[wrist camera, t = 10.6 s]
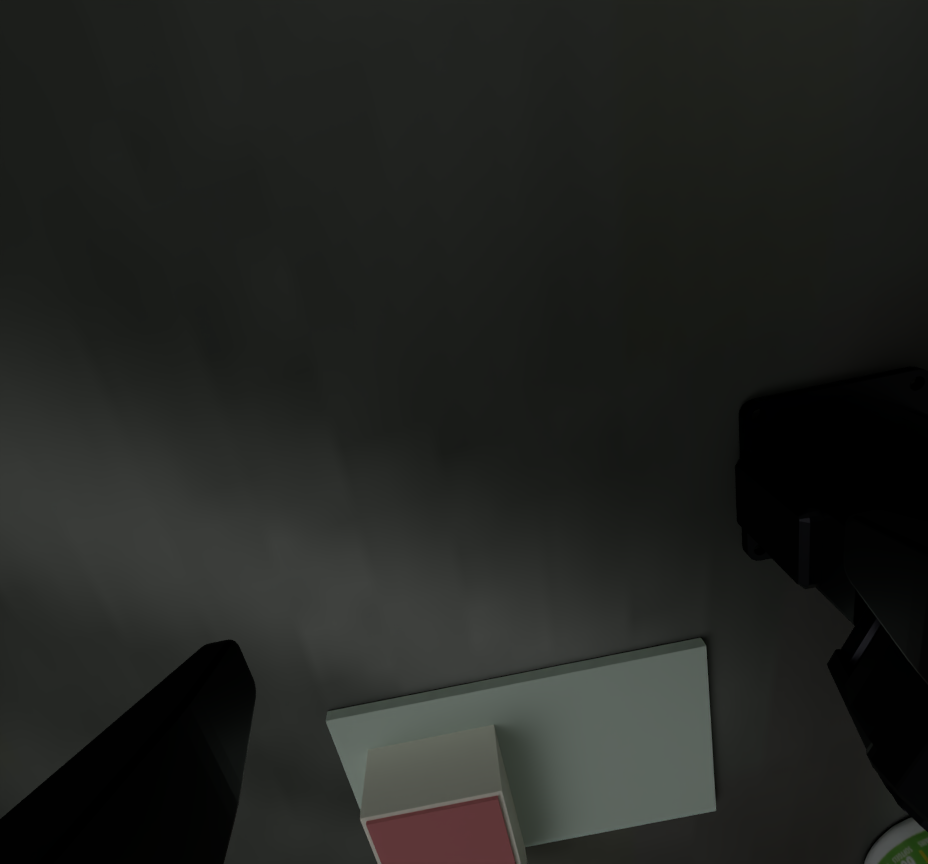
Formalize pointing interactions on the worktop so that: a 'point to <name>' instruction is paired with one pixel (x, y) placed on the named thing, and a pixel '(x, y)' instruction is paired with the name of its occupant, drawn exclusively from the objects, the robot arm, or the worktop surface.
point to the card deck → (441, 802)
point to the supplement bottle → (901, 845)
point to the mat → (569, 738)
